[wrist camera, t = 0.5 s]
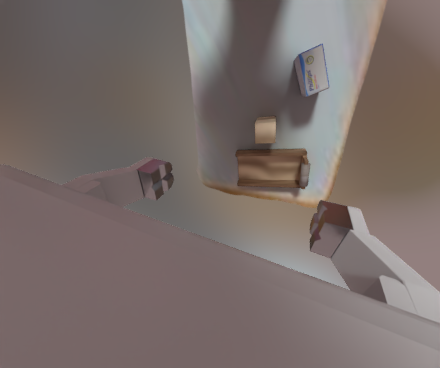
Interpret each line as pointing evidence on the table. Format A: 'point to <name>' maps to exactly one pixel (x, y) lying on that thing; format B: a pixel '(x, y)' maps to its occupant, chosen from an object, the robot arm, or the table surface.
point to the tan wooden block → (265, 130)
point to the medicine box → (312, 71)
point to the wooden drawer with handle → (273, 168)
